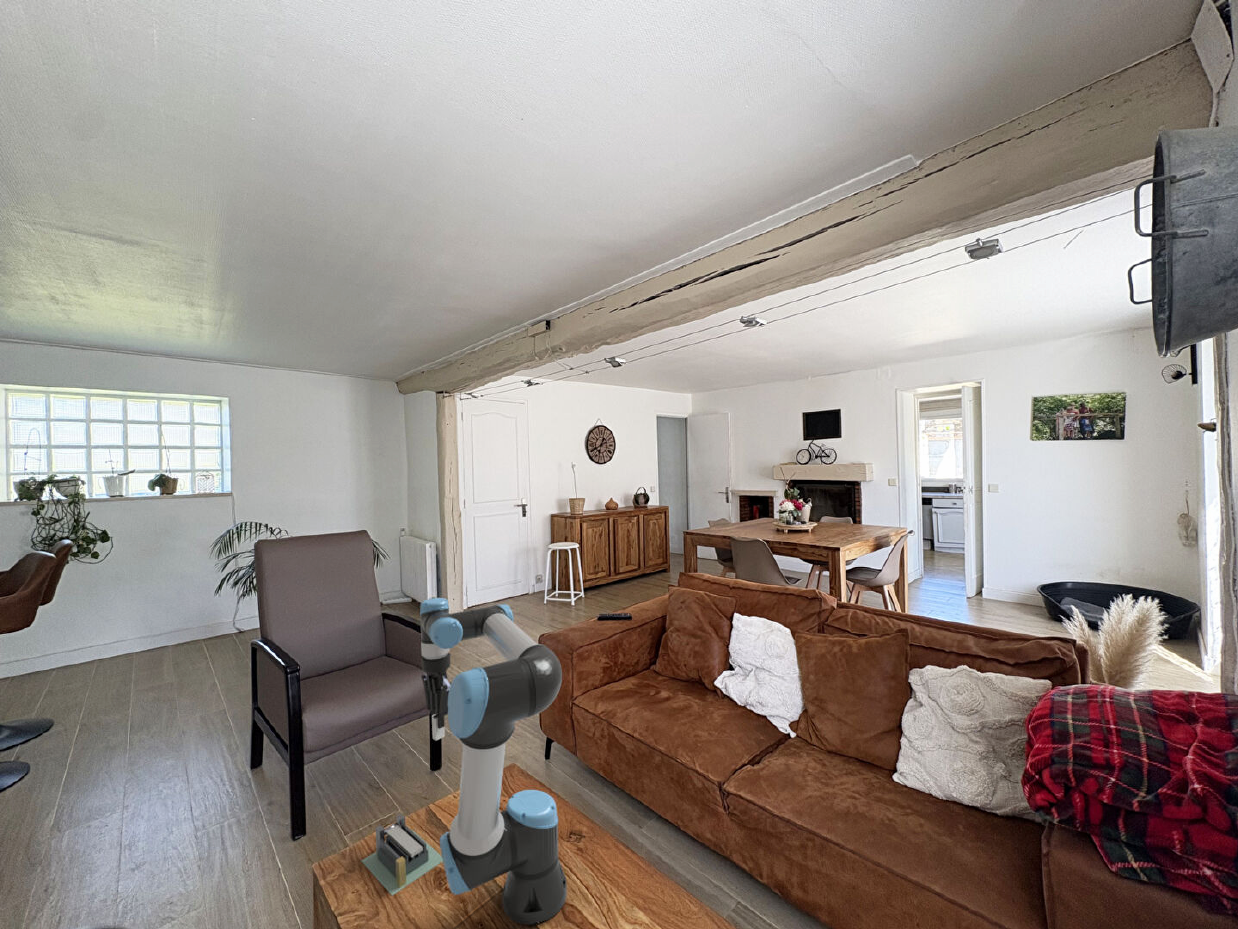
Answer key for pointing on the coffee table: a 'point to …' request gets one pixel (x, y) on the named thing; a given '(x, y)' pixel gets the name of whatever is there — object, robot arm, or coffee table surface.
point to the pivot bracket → (381, 834)
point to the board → (390, 880)
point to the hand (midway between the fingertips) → (438, 737)
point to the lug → (400, 872)
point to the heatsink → (401, 854)
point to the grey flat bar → (403, 840)
